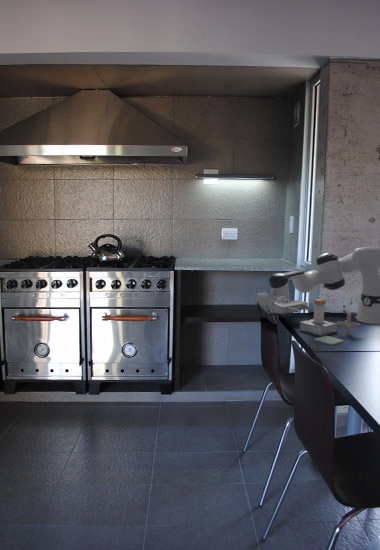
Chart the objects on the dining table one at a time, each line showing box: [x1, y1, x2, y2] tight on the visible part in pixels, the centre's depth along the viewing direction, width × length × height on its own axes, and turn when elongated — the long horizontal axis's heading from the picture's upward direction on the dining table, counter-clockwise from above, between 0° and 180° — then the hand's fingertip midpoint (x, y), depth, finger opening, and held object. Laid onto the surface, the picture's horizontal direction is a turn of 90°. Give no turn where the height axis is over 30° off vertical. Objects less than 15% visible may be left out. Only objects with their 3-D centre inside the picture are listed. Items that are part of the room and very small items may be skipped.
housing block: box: [299, 318, 338, 337], centre depth 212 cm, size 12×12×4 cm
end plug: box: [313, 298, 327, 325], centre depth 211 cm, size 5×5×15 cm
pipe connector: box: [336, 312, 361, 336], centre depth 206 cm, size 10×10×10 cm
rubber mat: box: [313, 335, 345, 346], centre depth 196 cm, size 9×9×1 cm
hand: (303, 309), depth 217 cm, fingers open, 8 cm apart
